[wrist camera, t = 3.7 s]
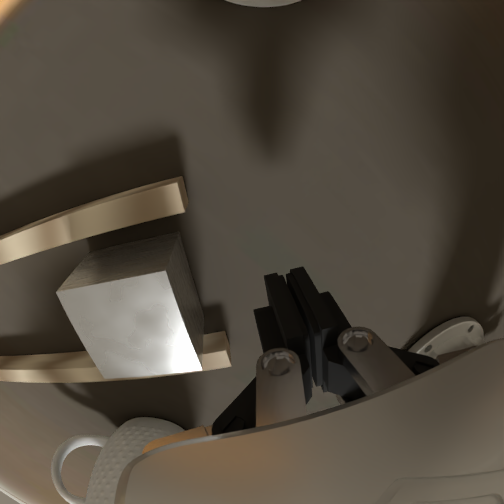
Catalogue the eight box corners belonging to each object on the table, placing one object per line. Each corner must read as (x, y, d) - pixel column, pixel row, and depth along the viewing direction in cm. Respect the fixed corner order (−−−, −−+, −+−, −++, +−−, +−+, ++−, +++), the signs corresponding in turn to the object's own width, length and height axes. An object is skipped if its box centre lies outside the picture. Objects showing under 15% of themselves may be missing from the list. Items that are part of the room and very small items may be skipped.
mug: (77, 434, 25) (55, 527, 13) (61, 377, 21) (17, 499, 9) (201, 461, 28) (205, 559, 16) (222, 414, 24) (231, 548, 12)
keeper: (179, 230, 17) (165, 270, 12) (204, 315, 19) (202, 369, 15) (90, 251, 17) (56, 292, 12) (123, 328, 19) (104, 378, 15)
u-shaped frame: (182, 175, 15) (170, 191, 12) (229, 346, 20) (233, 389, 17) (-70, 269, 15) (-92, 289, 11) (-16, 366, 20) (-31, 390, 16)
